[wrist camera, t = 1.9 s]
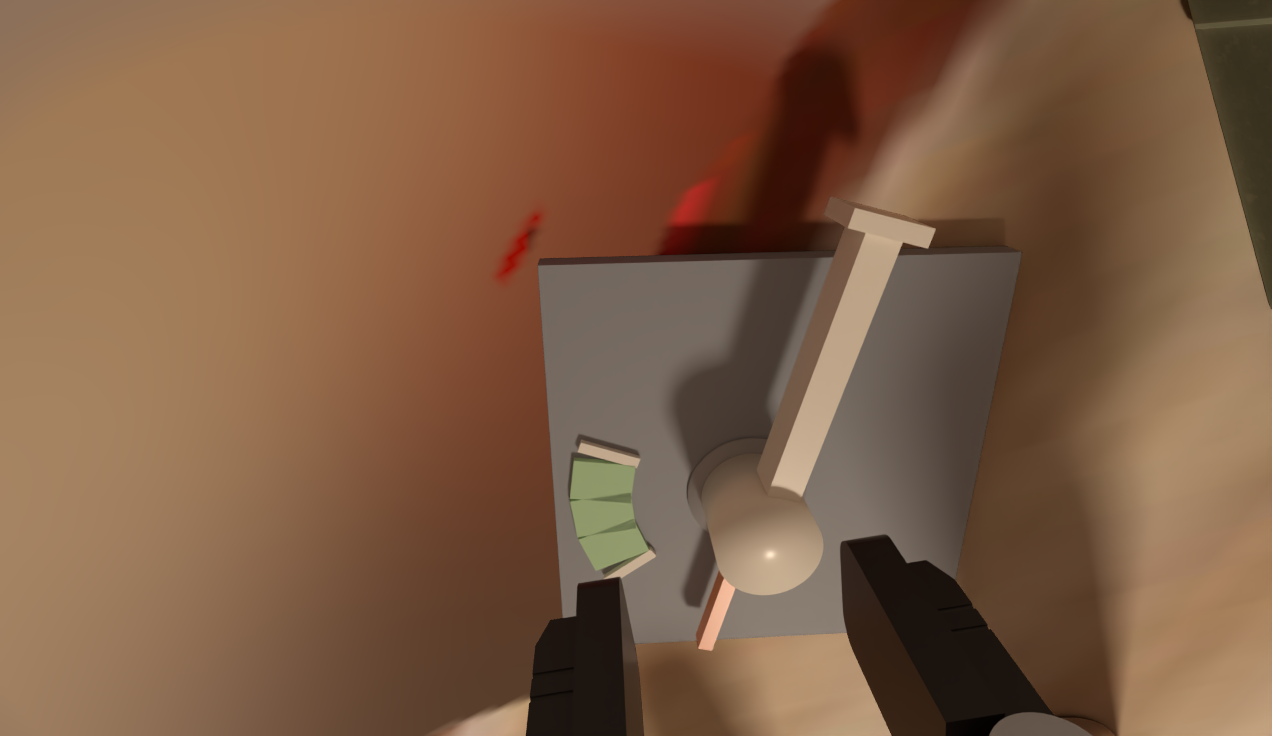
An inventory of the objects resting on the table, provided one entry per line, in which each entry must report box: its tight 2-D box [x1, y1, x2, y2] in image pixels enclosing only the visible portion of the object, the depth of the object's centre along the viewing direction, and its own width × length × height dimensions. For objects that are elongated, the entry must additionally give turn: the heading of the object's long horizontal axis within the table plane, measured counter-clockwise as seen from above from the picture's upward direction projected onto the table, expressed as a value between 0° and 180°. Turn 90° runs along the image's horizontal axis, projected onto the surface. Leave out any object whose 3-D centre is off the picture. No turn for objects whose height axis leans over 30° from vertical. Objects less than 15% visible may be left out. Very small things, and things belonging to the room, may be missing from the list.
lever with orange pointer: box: [696, 196, 936, 651], centre depth 29 cm, size 22×4×4 cm, turn 166°
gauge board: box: [538, 246, 1022, 644], centre depth 32 cm, size 20×20×2 cm
